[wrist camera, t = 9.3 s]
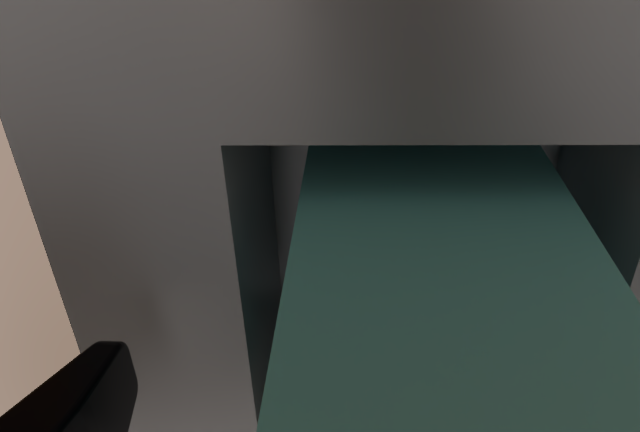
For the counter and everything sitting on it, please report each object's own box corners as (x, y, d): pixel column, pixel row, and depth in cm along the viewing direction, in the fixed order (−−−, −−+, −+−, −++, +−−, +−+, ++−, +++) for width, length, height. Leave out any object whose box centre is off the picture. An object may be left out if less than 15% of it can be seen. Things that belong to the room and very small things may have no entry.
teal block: (492, 269, 13) (664, 807, 6) (321, 268, 14) (272, 779, 6) (516, 107, 11) (836, 617, 4) (315, 109, 12) (228, 586, 4)
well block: (616, 375, 16) (698, 539, 12) (187, 364, 17) (136, 515, 13) (792, -137, 10) (1080, -133, 6) (87, -113, 10) (-73, -98, 7)
